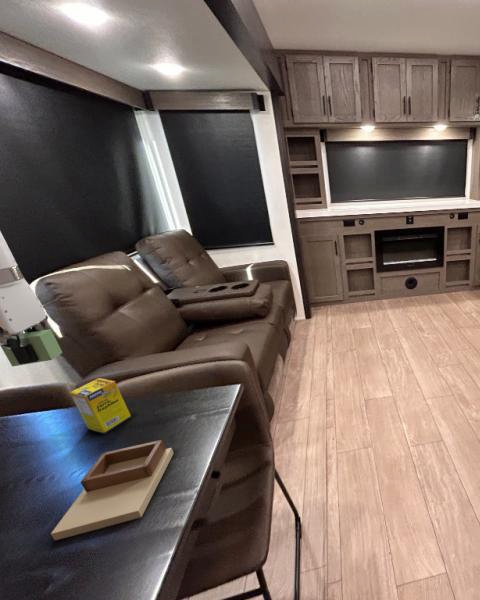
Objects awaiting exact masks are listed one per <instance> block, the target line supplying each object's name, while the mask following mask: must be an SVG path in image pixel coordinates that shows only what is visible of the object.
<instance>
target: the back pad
mask: <svg viewBox="0 0 480 600" xmlns="http://www.w3.org/2000/svg"><path fill="white" fill-rule="evenodd" d="M23 333H24V336H25V339H26V341H27V345H28V344H31V345H32V347H33V349H34V351H35V353H36V355H37V356H38V358H39V360H38V361H36V362H32V363H26V364H19V363H18V361H17V359H16V358H15V356H14V354H13V352H12V350H11V349H7V348H6V347H5V346H2V345H0V348H1V350H2V351H3V353H4V355H5V357H6V359H7V360H8V361H9V363H10V366H11V367H18V366H25V365H30V364H36V363H43V362H48V361H52V360H54V359H55V358H57V357H58V356H60V355H61V354H63V351H62V348H61V346H60V344H59V342H58V341H57V339H56V337H55V335H54V333H53V331H52V329H51V328H50V329H45V330H42V331H36V332H29V333H25V332H23ZM11 338H14V339H16V340H17V338H16V336H11Z"/></svg>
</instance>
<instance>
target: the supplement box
mask: <svg viewBox="0 0 480 600" xmlns="http://www.w3.org/2000/svg"><path fill="white" fill-rule="evenodd" d="M69 395H70V397H71V399H72V401H73V403H74V404H75V406H76V408H77V410H78V411H79V414H80V415H81V417H82V419H83V422H84V423H85V425H86V426H87V429H88V430H89V431H91V432H95V433H97V434H102V435H106V434H107V433H109V432H110V431H112V430H114V429H115V428H117V427H118V426H120V425H122V424H123V423H125V422H126V421H128V420H130V419H131V418H132V415H131V413H130V411H129V409H128V407H127V405H126V402H125V400H124V398H123V396H122V394H121V392H120V389H119V387H118V384H117V383H116V381H115V380H111V379H106V378H103V377H99V378H96V379H94V380H92V381H90V382H88V383H86V384H84V385H82V386H80V387H78V388H76V389H74V390H72V391H70V392H69Z"/></svg>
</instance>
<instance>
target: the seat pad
mask: <svg viewBox="0 0 480 600" xmlns="http://www.w3.org/2000/svg"><path fill="white" fill-rule="evenodd" d="M174 454H175V453H174V450H173V448H172V447H169V448H166V446H165V443H164V441H163V439H159V440H155V441H150V442H145V443H142V444H137V445H132V446H128V447H124V448H119V449H115V450H110V451H105V452H102V453H101V454H100V456H99V458H97V460H96V462H95V463H93V465H92V466H91V468H90V469H89V471H88V472H87V473H86V474H85V475H84V477H83V478H82V479H81V481H80V484H81V486H82V487H83V489H82V491H81V492H80V494H78V497H76V499H75V500H74V502H73V503H72V504H71V505H70V507H69V509H68V510H67V511H66V512H65V514H64V515H63V517H62V518H61V519H60V521H58V523H57V525H56V526H55V527H54V528H53V530H52V531H51V532H50V535H51V537H52V539H53V540H54V541H58V540H62V539H65V538H66V539H67V538H70V537H73V536H77V535H80V534H85V533H88V532H92V531H96V530H99V529H103V528H107V527H111V526H115V525H118V524H121V523H125V522H128V521H133V520H136V519H137V520H138V519H140V518H143V515H144V513H145V511H146V509H147V507H148V506H149V503H150V501H151V499H152V497H153V496H154V493H155V491H156V489H157V487H158V485H159V483H160V482H161V479H162V477H163V475H164V474H165V472H166V470H167V468H168V465H169V463H170V462H171V459H172V458H173V455H174Z"/></svg>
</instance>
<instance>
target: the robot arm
mask: <svg viewBox="0 0 480 600" xmlns="http://www.w3.org/2000/svg"><path fill="white" fill-rule="evenodd" d="M48 320H49V316H48V315H47V314H46V311H45V309H44V307H43V304H42V303H41V300H40V299H39V298H38V295H37V293H35V291H34V290H33V289H32V286H30V284H29V283H28V282H27V279H25V277H24V275H23V273H22V271H21V269H20V267H19V265H18V263H17V262H16V259H15V257H14V255H13V253H12V251H11V249H10V247H9V246H8V243H7V241H6V239H5V237H4V235H3V234H2V231H1V230H0V345H2V346H5V347H6V348H7V349H11V350H12V352H13V354H14V356H15V358H16V359H17V361H18V363H19V364H25V365H27V364H26V363H31V364H33V363H32V362H36V361H38V360H39V358H38V356H37V355H36V353H35V351H34V349H33V347H32V345H31V344H28V345H27V341H26V339H25V336H24V333H29V332H36V331H42V330H46V324H47V321H48ZM11 336H16V338H17V340H16V339H14V338H11Z"/></svg>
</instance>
